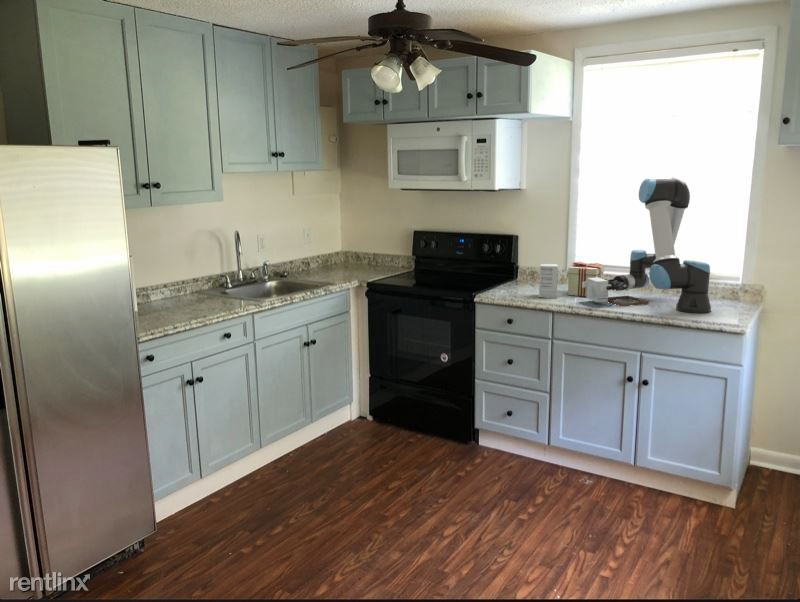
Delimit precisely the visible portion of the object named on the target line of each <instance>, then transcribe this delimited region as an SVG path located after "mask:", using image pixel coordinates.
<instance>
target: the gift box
mask: <svg viewBox="0 0 800 602" xmlns="http://www.w3.org/2000/svg"><path fill="white" fill-rule="evenodd" d="M567 269H568V270H567V273H568V285H567V287H568V288H567V295H568V296H573V295H575V296H576V297H584V296H585V297H586V298H587V287H584V288H583V287H582V282H587V278H595V277H599V278H602V279H604V273H605V266H604V265H602V264H601V263H597V262H592V263H587V264H586V263H584V262H581V261H574V262H573V263H572V265H571V266H570V267H568V268H567Z"/></svg>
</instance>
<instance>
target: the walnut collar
mask: <svg viewBox="0 0 800 602" xmlns="http://www.w3.org/2000/svg"><path fill="white" fill-rule="evenodd" d="M616 299H621V300H629V299H631V300H630V301H629V302H620V301H618V300H616ZM633 300H635V301H633ZM631 301H632V302H631ZM637 301H638V302H637ZM649 301H650V300H649ZM649 301H648V300H646V299H642V298H638V297H635V296H631V295H620V296H608V302H609V303H612V304H616V305H615V306H618V305H619V307H621V306H624V307H631V306H630V305H634V306H642V305H641V304H645V305H649V304H650V302H649ZM608 302H607V303H608Z"/></svg>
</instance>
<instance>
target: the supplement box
mask: <svg viewBox="0 0 800 602" xmlns="http://www.w3.org/2000/svg"><path fill="white" fill-rule="evenodd" d="M558 274H559V266H558V264H557V263H540V264H539V287H538V289H539V290H538V296H539V297H549V298H548V299H557V298H558V282H559V281H558V280H559V279H558V277H559V275H558ZM539 297H538V298H539Z"/></svg>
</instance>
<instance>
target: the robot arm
mask: <svg viewBox="0 0 800 602" xmlns="http://www.w3.org/2000/svg"><path fill="white" fill-rule="evenodd" d="M638 189H639V190H638V199H639V201H640V202H641V203H642V204H644V206H645V209H646V210H648V211H649V218H650V225H651V226H650V227H651V232H652V241H653V248H654V253H648V252H647V250H644V249H632V251H631V252H630V259H629V260H630V261H629V273H628V274H621V275H616V276H615V277H614V278H613V279H612V278H610V279H607V278H605V280H607V281H609V282H608V285H602V286H601V288H600V291H608V292H609V291H616V292H618V291H624V290H625V291H628V290H632V289H642V288H644V287H647V286H648V285H649V284H650V282H651V284H652V286H653V287H654V288H655V289H658V290H665V291H667V290H677V289H678V290H679V289H681V292H680V295H679V298H678V300H677V303H676V304H675V305H676V306H675V309H676V310H677V311H680V312H684V313H691V314H705V313H706V314H708V313H710V312H711V311H712V305H711V303H710V297H709V289H710V288H709V285H710V274H711V266H710V264H709V263H707V262H702V261H696V260H691V259H690V260H688V259H686V260H685V259H684V260H683V261H682V263H681V260H680V258H679V257H678V256H676V251H675V243H676V241H677V237H678V233H679V230H680V227H681V223H682V220H683V217H684V213H685V210H686V209H688V208H689V204H690V200H691V199H690V198H691V195H690V189H689V186H688V185H687V183H686V182H685V180H683V179H681V178H678V177H674V176H673V177H649V178H645V179H643V181H641V183H640V187H639V188H638ZM646 269H649V272H648V274H647V273H646ZM582 287H583V288H584V287H587V282H582Z"/></svg>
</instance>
